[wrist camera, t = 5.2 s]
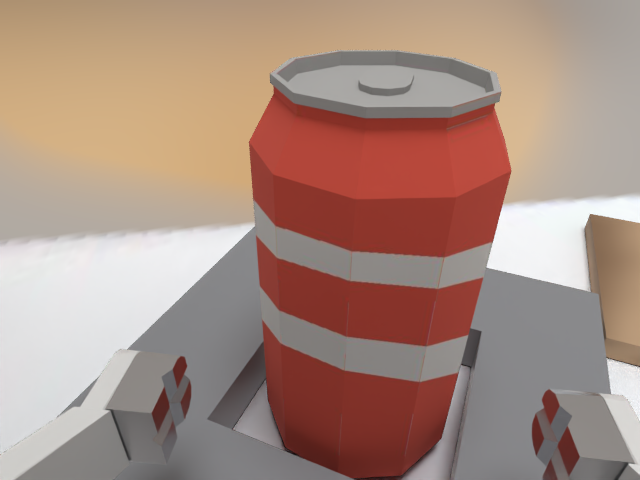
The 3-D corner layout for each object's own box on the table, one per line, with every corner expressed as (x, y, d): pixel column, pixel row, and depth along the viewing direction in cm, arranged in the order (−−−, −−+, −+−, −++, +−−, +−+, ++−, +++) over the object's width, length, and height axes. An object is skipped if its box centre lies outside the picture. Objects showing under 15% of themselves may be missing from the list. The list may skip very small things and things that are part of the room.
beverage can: (441, 360, 19) (511, 53, 13) (435, 516, 14) (548, 135, 7) (300, 332, 20) (297, 39, 14) (246, 467, 15) (199, 101, 9)
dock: (5, 529, 14) (-21, 491, 12) (267, 247, 26) (265, 216, 25) (625, 897, 8) (672, 889, 7) (583, 328, 21) (598, 293, 20)
